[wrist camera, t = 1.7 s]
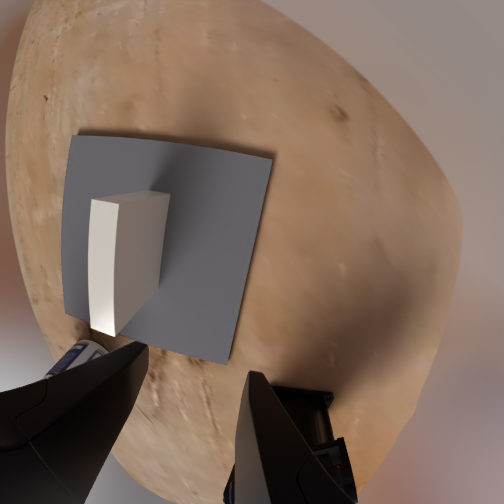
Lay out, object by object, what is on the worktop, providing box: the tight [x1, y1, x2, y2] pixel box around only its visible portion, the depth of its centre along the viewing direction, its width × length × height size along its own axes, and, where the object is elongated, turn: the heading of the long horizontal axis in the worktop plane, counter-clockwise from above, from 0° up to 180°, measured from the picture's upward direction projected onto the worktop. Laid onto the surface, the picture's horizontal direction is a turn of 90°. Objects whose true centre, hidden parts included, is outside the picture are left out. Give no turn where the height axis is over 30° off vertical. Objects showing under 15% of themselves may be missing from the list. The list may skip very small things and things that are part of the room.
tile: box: [88, 190, 170, 337], centre depth 15 cm, size 2×7×7 cm, turn 168°
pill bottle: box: [43, 340, 109, 379], centre depth 18 cm, size 5×5×10 cm
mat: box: [61, 135, 273, 365], centre depth 19 cm, size 16×16×1 cm
